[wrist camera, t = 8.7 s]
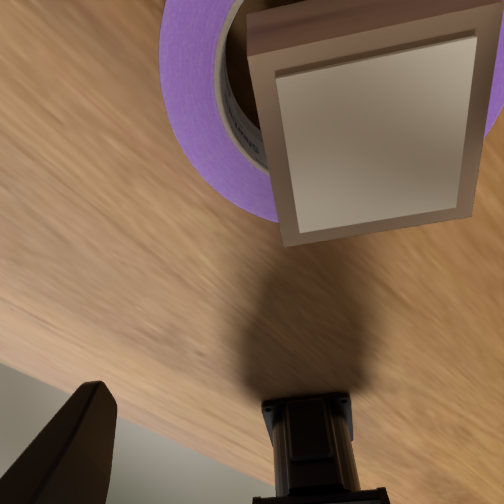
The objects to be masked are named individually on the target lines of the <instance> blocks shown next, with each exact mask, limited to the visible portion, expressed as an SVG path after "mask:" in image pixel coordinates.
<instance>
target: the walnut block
mask: <svg viewBox="0 0 504 504" xmlns="http://www.w3.org/2000/svg"><path fill="white" fill-rule="evenodd" d="M503 10H504V1H502V0H306V1H302V2H297V3H293V4H288V5H284V6H280V7H275V8H271V9H266V10H262V11H258V12H253V13H249V14H246V25H247V59H248V64H249V69H250V75H251V80H252V85H253V90H254V96H255V101H256V106H257V112H258V117H259V122H260V127H261V133H262V138H263V143H264V148H265V154H266V159H267V164H268V169H269V175H270V180H271V185H272V190H273V196H274V201H275V206H276V212H277V217H278V222H279V227H280V233H281V238H282V243H283V248H284V247H290V246H296V245H302V244H308V243H315V242H321V241H327V240H333V239H339V238H345V237H351V236H358V235H364V234H370V233H376V232H382V231H388V230H394V229H401V228H407V227H413V226H419V225H425V224H431V223H437V222H444V221H450V220H456V219H462V218H468V217H472V211H473V204H474V198H475V191H476V185H477V178H478V172H479V165H480V159H481V152H482V146H483V139H484V133H485V126H486V120H487V114H488V107H489V101H490V94H491V88H492V81H493V75H494V68H495V62H496V55H497V49H498V42H499V36H500V29H501V23H502V16H503Z"/></svg>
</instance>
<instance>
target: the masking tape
mask: <svg viewBox="0 0 504 504" xmlns="http://www.w3.org/2000/svg"><path fill="white" fill-rule="evenodd" d="M243 1H244V0H166V2H165V6H164V11H163V16H162V22H161V27H160V36H159V73H160V83H161V90H162V95H163V100H164V104H165V109H166V112H167V115H168V118H169V122H170V125H171V127H172V129H173V132H174V134H175V136H176V138H177V140H178V142H179V144H180V146H181V148H182V149H183V151H184V153H185V155H186V156H187V158H188V159H189V161H190V162H191V164H192V165H193V166H194V168H195V169H196V170H197V171H198V173H199V174H200V175H201V176H202V177H203V178H204V179H205V181H206V182H208V183H209V184H210V185H211V186H212V187H213V188H214V189H215V190H216V191H217V192H219V193H220V194H221V195H222V196H223V197H225V198H226V199H228V200H229V201H230V202H232V203H233V204H235V205H237V206H238V207H240V208H242V209H244V210H246V211H248V212H250V213H252V214H254V215H257V216H259V217H261V218H264V219H267V220H270V221H273V222H277V223H279V222H278V217H277V212H276V206H275V201H274V196H273V190H272V185H271V180H270V175H269V169H268V164H267V159H266V154H265V148H264V143H263V138H262V133H261V131H260V130H259V129H258V128H257V127H256V126H255V125H254V124H253V123H252V122H251V121H250V120H249V119H248V118H247V117H246V116H245V114H244V113H243V112H242V110H241V109H240V107H239V105H238V103H237V101H236V99H235V97H234V95H233V92H232V90H231V87H230V83H229V80H228V75H227V68H226V39H227V34H228V31H229V28H230V26H231V23H232V21H233V19H234V17H235V15H236V13H237V11H238V9H239V7H240V6H241V4H242V3H243ZM502 1H504V0H502ZM503 106H504V10H503V16H502V23H501V29H500V36H499V42H498V49H497V55H496V62H495V68H494V75H493V81H492V88H491V94H490V101H489V107H488V114H487V120H486V126H485V133H484V137H485V136H486V135H487V133H488V132H489V130H490V129H491V127H492V126H493V124H494V122H495V121H496V119H497V117H498V115H499V113H500V111H501V110H502V108H503Z"/></svg>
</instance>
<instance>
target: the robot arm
mask: <svg viewBox="0 0 504 504" xmlns="http://www.w3.org/2000/svg"><path fill="white" fill-rule="evenodd" d="M261 410H262V414H263V417H264V420H265V424H266V427H267V430H268V433H269V436H270V440H271V443H272V446H273V451H274V470H275V488H276V497H268V498H261V497H253V502H252V504H390V501H389V498H388V495H387V491H386V488H385V487H380V488H377V489H374V490H361V488H360V484H359V479H358V474H357V469H356V464H355V459H354V454H353V449H352V444H351V441H353V426H352V411H351V399H350V395H349V394H348V393H335V394H326V395H317V396H309V397H300V398H291V399H282V400H274V401H266V402H263V403H262V404H261ZM116 419H117V404H116V401H115V399H114V397H113V396H112V394H111V393H110V391H109V389H108V388H107V386H106V385H105V383H104V382H102V381H91V382H85V383H83V384H82V385H80V386H79V388H78V389H77V390H76V391H75V392H74V393H73V394H72V396H71V397H70V398H69V399H68V400H67V401H66V403H65V404H64V405H63V406H62V407H61V409H60V410H59V411H58V412H57V413H56V414H55V415H54V417H53V418H52V419H51V420H50V422H48V424H47V425H46V426H45V427H44V428H43V429H42V430H41V432H40V433H39V434H38V435H37V436H36V437H35V439H34V440H33V441H32V442H31V443H30V444H29V446H28V447H27V448H26V449H25V450H24V451H23V453H22V454H21V455H20V456H19V457H18V458H17V459H16V461H15V462H14V463H13V464H12V465H11V466H10V468H9V469H8V470H7V471H6V472H5V473H4V475H3V476H2V477H1V478H0V504H105V503H106V498H107V493H108V488H109V482H110V475H111V467H112V458H113V448H114V438H115V429H116Z"/></svg>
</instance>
